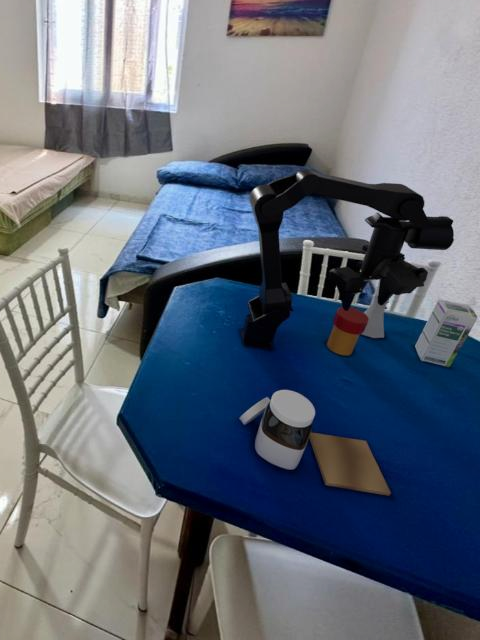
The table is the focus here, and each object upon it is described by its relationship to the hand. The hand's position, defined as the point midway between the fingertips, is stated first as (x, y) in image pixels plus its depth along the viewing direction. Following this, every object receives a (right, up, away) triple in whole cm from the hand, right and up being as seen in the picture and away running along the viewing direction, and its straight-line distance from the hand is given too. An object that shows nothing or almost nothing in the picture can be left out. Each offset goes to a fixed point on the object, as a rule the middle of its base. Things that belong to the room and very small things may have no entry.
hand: (362, 307), depth 92 cm
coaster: (-16, -25, -20) cm, 36 cm away
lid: (-1, -5, +4) cm, 6 cm away
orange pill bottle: (-1, -11, +7) cm, 13 cm away
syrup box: (+20, -13, +5) cm, 24 cm away
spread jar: (-29, -23, -17) cm, 41 cm away
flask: (+10, -8, +14) cm, 19 cm away
